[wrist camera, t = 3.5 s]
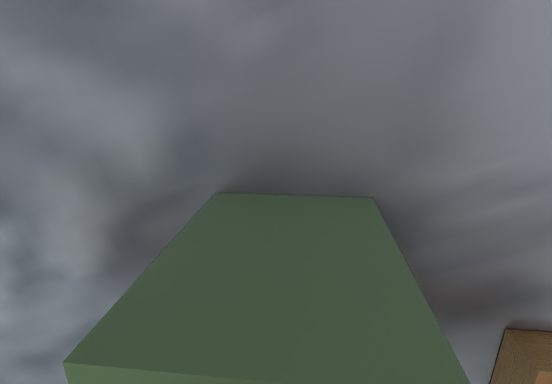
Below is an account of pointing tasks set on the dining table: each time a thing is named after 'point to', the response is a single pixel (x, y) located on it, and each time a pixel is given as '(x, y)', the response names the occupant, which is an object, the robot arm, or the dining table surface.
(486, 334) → the dining table surface
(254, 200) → the sage green upright block
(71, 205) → the dining table surface
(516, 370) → the grey block with frame
